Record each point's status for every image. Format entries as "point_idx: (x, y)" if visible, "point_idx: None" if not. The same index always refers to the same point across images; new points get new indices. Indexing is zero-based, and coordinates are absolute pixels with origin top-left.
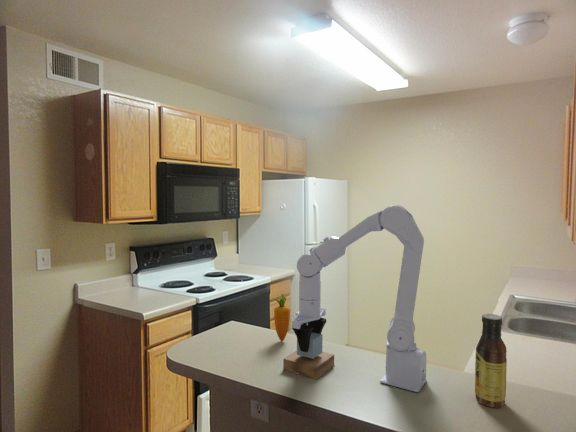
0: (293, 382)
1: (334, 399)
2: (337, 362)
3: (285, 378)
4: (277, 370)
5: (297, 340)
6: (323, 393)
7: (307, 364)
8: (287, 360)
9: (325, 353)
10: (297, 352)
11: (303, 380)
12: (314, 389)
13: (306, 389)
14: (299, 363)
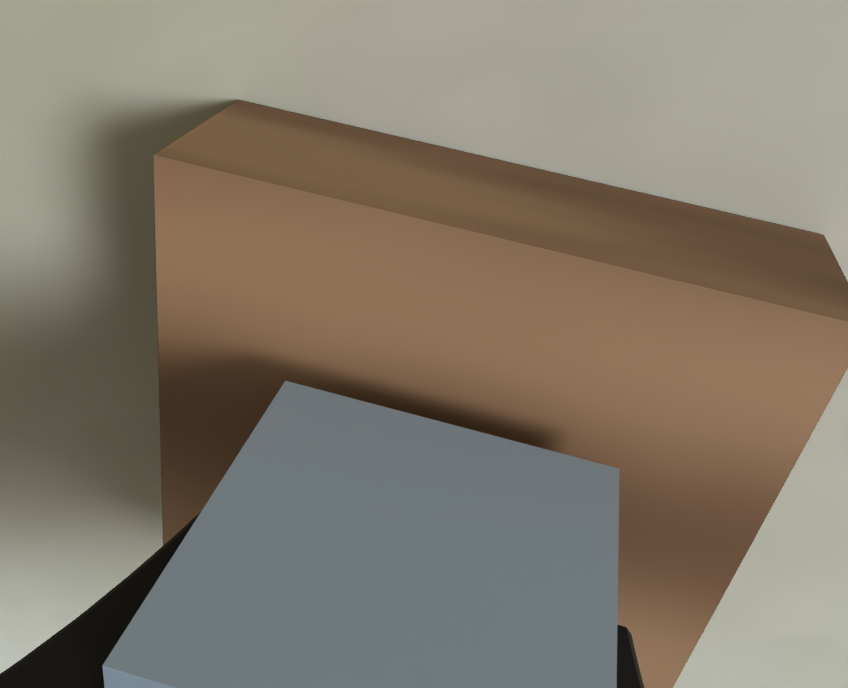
0: (32, 328)
1: (19, 649)
2: (744, 650)
3: (49, 217)
4: (174, 18)
5: (156, 588)
6: (40, 585)
7: (179, 519)
8: (164, 228)
9: (643, 667)
10: (270, 414)
11: (133, 408)
12: (48, 521)
13: (3, 465)
14: (162, 421)
